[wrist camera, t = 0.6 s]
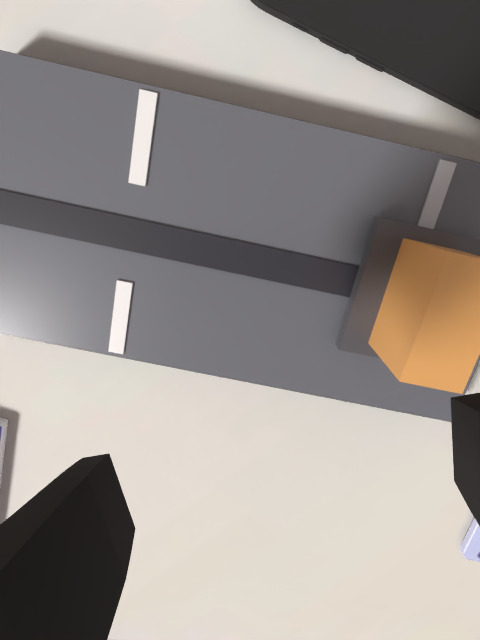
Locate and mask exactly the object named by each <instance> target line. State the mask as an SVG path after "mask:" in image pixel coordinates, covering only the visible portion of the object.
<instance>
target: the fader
mask: <svg viewBox="0 0 480 640" xmlns="http://www.w3.org/2000/svg"><path fill="white" fill-rule="evenodd" d="M336 346H337V348H338V349H339V350H342V351H347V352H352V353H356V354H361V355H366V356H371V357H376V358H381V359H382V361H383V362H384V363H385V364H386V366H387V367H388V368H389V369H390V371H391V372H392V373H393V374H394V375H395V377H396V378H397V379H398V380H399V382H404V383H409V384H414V385H419V386H424V387H429V388H434V389H439V390H444V391H449V392H454V393H459V394H463V391H464V389H465V387H466V384H467V382H468V380H469V377H470V375H471V373H472V370H473V368H474V366H475V364H476V361H477V359H478V357H479V354H480V240H479V239H475V238H470V237H466V236H462V235H457V234H453V233H448V232H444V231H439V230H435V229H430V228H426V227H421V226H417V225H412V224H408V223H403V222H399V221H394V220H390V219H385V218H381V217H376V216H375V217H374V220H373V223H372V226H371V230H370V233H369V236H368V240H367V243H366V246H365V249H364V253H363V256H362V259H361V262H360V266H359V269H358V272H357V275H356V279H355V282H354V285H353V288H352V292H351V295H350V298H349V302H348V305H347V308H346V311H345V315H344V318H343V321H342V324H341V328H340V331H339V334H338V337H337V341H336Z"/></svg>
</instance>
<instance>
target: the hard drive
mask: <svg viewBox="0 0 480 640" xmlns="http://www.w3.org/2000/svg"><path fill="white" fill-rule="evenodd" d="M7 428H8V420H7V419H3V418H0V487H1V478H2V470H3V461H4V453H5V445H6V436H7Z"/></svg>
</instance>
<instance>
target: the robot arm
mask: <svg viewBox="0 0 480 640" xmlns="http://www.w3.org/2000/svg"><path fill="white" fill-rule="evenodd" d="M451 419H452V441H453V463H454V481H455V483H456V485H457V487H458V489H459V490H460V492H461V494H462V496H463V498H464V500H465V501H466V503H467V505H468V507H469V509H470V511H471V512H472V514H473V516H474V517H475V518H474V520H473V522H472V524H471V526H470V528H469V530H468V532H467V534H466V536H465V538H464V540H463V542H462V544H461V547H460V551H461V553H462V555H463V556H464V557H465V558H466V559H468V560H472V561H478V562H480V393H475V394H469V395H463V396H457V397H451ZM134 533H135V526H134V523H133V520H132V518H131V515H130V512H129V509H128V506H127V503H126V500H125V498H124V495H123V492H122V489H121V486H120V483H119V480H118V477H117V475H116V472H115V469H114V466H113V463H112V460H111V457H110V455H109V454H104V455H98V456H92V457H86V458H82V459H80V460H79V461H77V462H76V463H75V464H73V465H72V466H71V467H69V468H68V469H67V470H65V471H64V472H63V473H62V474H60V475H59V476H58V477H57V478H56V479H54V480H53V481H52V482H51V483H50V484H48V485H47V486H46V487H45V488H44V489H42V490H41V491H40V492H39V493H38V494H37V495H35V496H34V497H33V498H32V499H31V500H29V501H28V502H27V503H26V504H25V505H24V506H22V507H21V508H20V509H19V510H18V511H16V512H15V513H14V514H13V515H12V516H10V517H9V518H8V519H7V520H6V521H5V522H3V523H2V524H1V525H0V640H107V638H108V635H109V632H110V629H111V626H112V622H113V619H114V616H115V613H116V609H117V606H118V603H119V600H120V597H121V593H122V590H123V587H124V583H125V580H126V576H127V571H128V566H129V561H130V556H131V550H132V544H133V539H134Z"/></svg>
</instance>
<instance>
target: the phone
mask: <svg viewBox="0 0 480 640" xmlns="http://www.w3.org/2000/svg"><path fill="white" fill-rule="evenodd" d="M251 2H252V3H254V4H255V5H256V6H257V7H258V8H260V9H261V10H263V11H265V12H267V13H269V14H271V15H272V16H274V17H276V18H278V19H280V20H282V21H284V22H286V23H288V24H290V25H292V26H294V27H296V28H298V29H300V30H302V31H304V32H306V33H308V34H310V35H312V36H314V37H316V38H318V39H319V40H320V41H321V42H323V43H325V44H327V45H329V46H331V47H333V48H335V49H337V50H339V51H341V52H343V53H345V54H347V53H348V54H350V55H352V56H354V57H356V59H357V60H358V61H360V62H362V63H364V64H366V65H368V66H370V67H372V68H374V69H376V70H378V71H381V72H383V71H384V72H386V73H388V74H390V75H392V76H394V77H396V78H398V79H400V80H402V81H404V82H406V83H408V84H410V85H412V86H414V87H416V88H418V89H420V90H422V91H424V92H426V93H428V94H430V95H432V96H434V97H436V98H438V99H440V100H442V101H444V102H446V103H448V104H450V105H452V106H454V107H456V108H458V109H460V110H462V111H464V112H466V113H468V114H470V115H472V116H474V117H476V118H477V119H479V120H480V0H251Z"/></svg>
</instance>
